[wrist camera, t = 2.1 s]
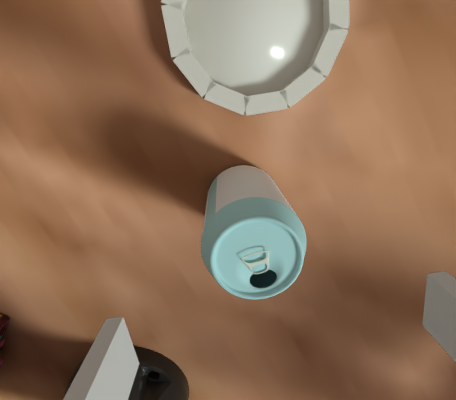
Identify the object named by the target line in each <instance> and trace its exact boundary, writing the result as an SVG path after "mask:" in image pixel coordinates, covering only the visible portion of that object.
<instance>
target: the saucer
mask: <svg viewBox="0 0 456 400" xmlns="http://www.w3.org/2000/svg"><path fill="white" fill-rule="evenodd" d="M161 3H162V4H163V5H162V6H161V8H162V13H163V18H164V23H165V28H166V33H167V38H168V43H169V48H170V53H171V58H173V59H174V60H173V61H174V63H175V64H176V65H177V67H178V68H179V69H180V70H181V72H182V73H183V74H184V75H185V77H186V78H187V79H188V81H189V82H190V83H191V84H192V86H193V87H194V88H195V90H196V91H197V92H198V93H199V95H200V96H201V97H202V98H203V97H205V98H204V99H205V100H207V101H210V102H212V103H215V104H217V105H220V106H222V107H224V108H227V109H229V110H232V111H234V112H237V113H239V114H242V115H253V114H259V113H265V112H271V111H277V110H284V109H287V107H288V108H290V107H292V106H293V105H294V104H295V103H297V102H298V101H299V100H300V99H302V98H303V97H304V96H305V95H307V94H308V93H309V92H310V91H312V90H313V89H314V88H315V87H316V86H318V85H319V84H320V83H321V82H323V81H324V80H325V78H324V77H328V74H329V72H330V70H331V68H332V66H333V64H334V61H335V59H336V57H337V55H338V53H339V51H340V48H341V46H342V44H343V42H344V40H345V38H346V35H347V33H348V30H346V29H347V28H349V0H161Z"/></svg>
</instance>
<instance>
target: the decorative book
mask: <svg viewBox="0 0 456 400" xmlns="http://www.w3.org/2000/svg"><path fill="white" fill-rule="evenodd" d="M9 320H10V318H9V317H7V316H4V315H1V314H0V348H1V347H2V345H3V343H4V340H5V339H4V340H3V341H1V340H2V338H3V335H4V333H5V330H6V327H7V325H8V322H9ZM2 362H3V360H0V367H1V364H2Z"/></svg>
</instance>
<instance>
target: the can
mask: <svg viewBox="0 0 456 400" xmlns="http://www.w3.org/2000/svg"><path fill="white" fill-rule="evenodd" d="M306 243H307V241H306V233H305V230H304V227H303V224H302V222H301V221H300V219H299V218H298V216H297V215H296V213H295V212H294V210H293V209H292V207H291V206H290V204H289V203H288V201H287V200H286V199H285V197H284V196H283V194H282V193H281V191H280V190H279V188H278V187H277V185H276V184H275V182H274V181H273V180H272V178H271V177H270V176H269V175H268V174H267V173H266V172H264V171H263V170H261V169H259V168H256V167H253V166H247V165H240V166H235V167H231V168H229V169H227V170H225V171H223V172H222V173H220V174H219V175H218V176H217V177H216V178H215V179H214V181H213V182H212V184H211V186H210V188H209V191H208V196H207V203H206V210H205V218H204V225H203V232H202V240H201V253H202V258H203V261H204V263H205V265H206V267H207V269H208V271H209V272H210V273H211V275H212V276H213V277H214V278H215V280H216V281H217V282H218V284H219V285H220V286H221V287H222V288H223V289H224V290H226V291H227V292H229V293H231V294H233V295H235V296H237V297H240V298H245V299H265V298H269V297H272V296H275V295H277V294H279V293H281V292H283V291H284V290H286V289H287V288H288V287H289V286H290V285H292V283H293V282H294V281H295V280H296V279H297V277H298V276H299V274H300V272H301V269H302V266H303V262H304V256H305V253H306Z"/></svg>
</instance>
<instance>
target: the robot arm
mask: <svg viewBox="0 0 456 400" xmlns="http://www.w3.org/2000/svg"><path fill="white" fill-rule="evenodd" d="M422 325H423V326H424V328H425V329H426V330H427V331H428V332H429V333H430V334H431V335H432V336H433V338H434V339H435V340H436V341H437V342H438V343H439V344H440V345H441V347H442V348H443V349H444V350H445V351H446V352H447V353H448V354H449V355H450V357H451V358H452V359H453V360H454V361H455V362H456V279H455V278H454V277H453V276H451V275H450V274H449V273H447V272H446V271H444V272H437V273H430V274H427V282H426V293H425V303H424V313H423V324H422ZM188 398H189V386H188V382H187V379H186V377H185V375H184V373H183V372H182V370H181V369H180V368H179V367H178V366H177V365H176V364H175V363H174V362H173V361H171V360H170V359H169V358H167V357H165V356H164V355H162V354H160V353H158V352H155V351H152V350H149V349H146V348H141V347H134V346H133V344H132V341H131V338H130V335H129V332H128V329H127V326H126V324H125V321H124V318H123V317H117V318H110V319H106V320H105V322H104V324H103V326H102V328H101V329H100V331H99V333H98V335H97V337H96V339H95V341H94V343H93V344H92V346H91V348H90V350H89V352H88V354H87V356H86V358H85V359H84V360H83V361H82V362H81V363H80V364H79V366H78V367H77V368H76V370H75V372H74V374H73V376H72V377H71V379H70V381H69V383H68V386H67V388H66V391H65V396H64V399H63V400H188Z"/></svg>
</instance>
